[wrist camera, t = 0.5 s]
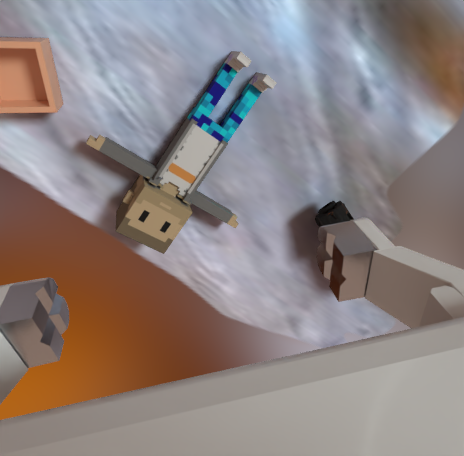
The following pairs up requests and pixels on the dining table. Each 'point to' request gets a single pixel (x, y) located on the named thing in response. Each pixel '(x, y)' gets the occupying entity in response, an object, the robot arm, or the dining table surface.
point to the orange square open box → (28, 76)
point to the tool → (333, 214)
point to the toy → (182, 164)
